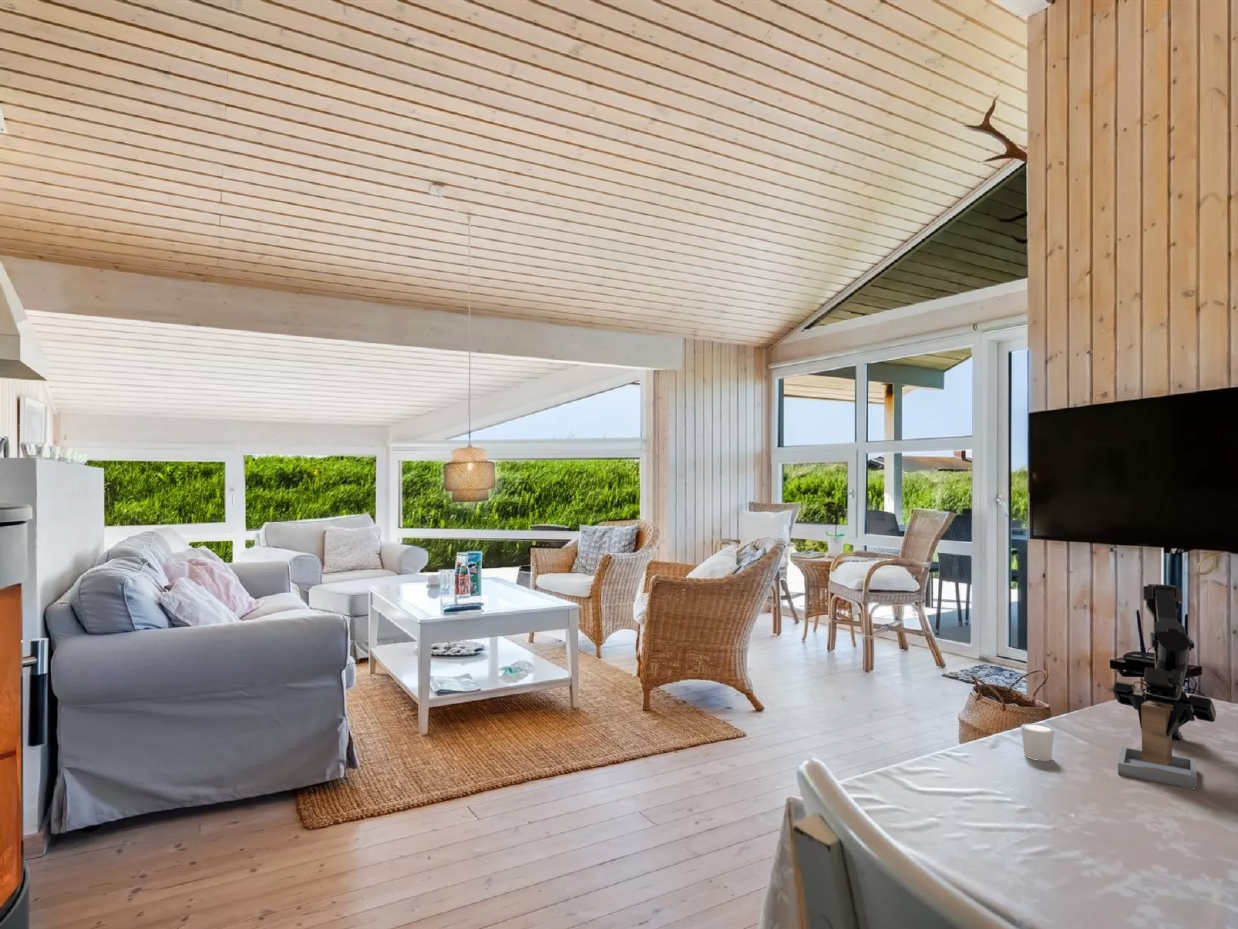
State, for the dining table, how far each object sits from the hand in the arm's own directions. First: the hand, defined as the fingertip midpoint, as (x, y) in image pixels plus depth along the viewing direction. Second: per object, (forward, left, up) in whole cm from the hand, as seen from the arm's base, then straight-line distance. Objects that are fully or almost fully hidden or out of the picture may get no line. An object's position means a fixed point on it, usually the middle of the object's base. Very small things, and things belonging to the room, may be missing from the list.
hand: (1154, 732), depth 168 cm
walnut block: (-1, 0, -7) cm, 7 cm away
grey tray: (-1, 0, -9) cm, 9 cm away
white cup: (+5, -23, -9) cm, 25 cm away
